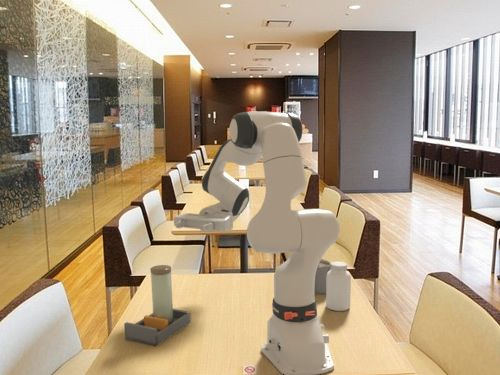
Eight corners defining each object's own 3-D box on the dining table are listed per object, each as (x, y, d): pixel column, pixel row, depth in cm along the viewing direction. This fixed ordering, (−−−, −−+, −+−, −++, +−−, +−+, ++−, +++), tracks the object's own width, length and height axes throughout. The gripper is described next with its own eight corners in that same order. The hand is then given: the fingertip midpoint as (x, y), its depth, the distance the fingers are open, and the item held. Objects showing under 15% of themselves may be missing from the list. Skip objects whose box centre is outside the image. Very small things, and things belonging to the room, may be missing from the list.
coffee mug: (303, 294, 184) (303, 267, 183) (303, 284, 194) (303, 258, 192) (341, 294, 183) (342, 267, 182) (339, 284, 193) (339, 259, 191)
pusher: (146, 325, 158) (146, 315, 157) (168, 329, 154) (167, 319, 154) (144, 326, 157) (143, 316, 156) (166, 331, 153) (165, 321, 153)
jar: (174, 327, 156) (171, 270, 153) (153, 329, 155) (150, 272, 152) (173, 319, 162) (170, 264, 159) (153, 321, 161) (150, 265, 158)
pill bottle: (355, 307, 171) (356, 264, 169) (337, 313, 167) (338, 269, 164) (338, 300, 178) (338, 258, 175) (321, 306, 173) (321, 263, 171)
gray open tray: (161, 316, 167) (161, 301, 166) (190, 322, 162) (189, 307, 161) (125, 339, 151) (124, 323, 150) (155, 346, 146) (154, 330, 146)
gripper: (186, 207, 185) (163, 215, 173) (236, 211, 176) (216, 220, 164) (186, 224, 186) (164, 233, 174) (236, 229, 177) (216, 239, 165)
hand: (189, 227), depth 169 cm, fingers open, 8 cm apart
